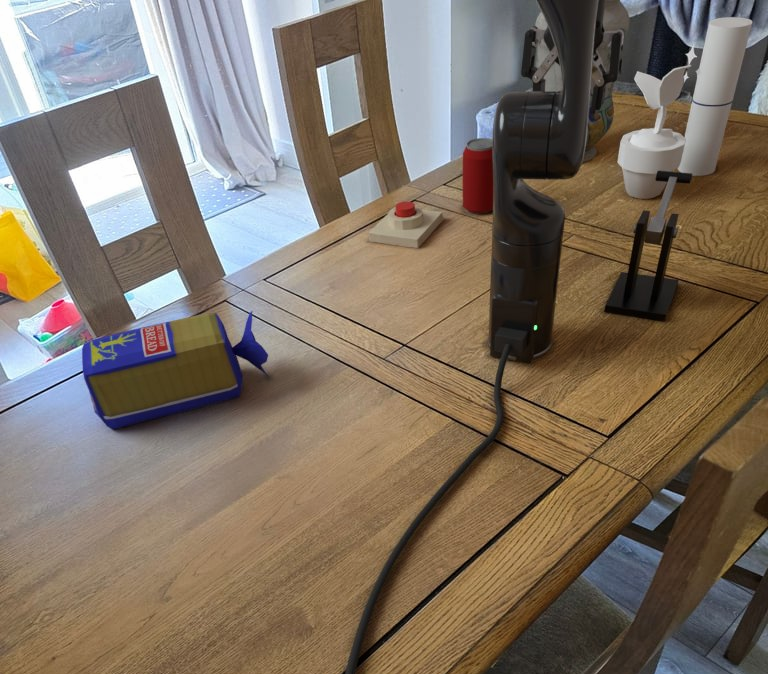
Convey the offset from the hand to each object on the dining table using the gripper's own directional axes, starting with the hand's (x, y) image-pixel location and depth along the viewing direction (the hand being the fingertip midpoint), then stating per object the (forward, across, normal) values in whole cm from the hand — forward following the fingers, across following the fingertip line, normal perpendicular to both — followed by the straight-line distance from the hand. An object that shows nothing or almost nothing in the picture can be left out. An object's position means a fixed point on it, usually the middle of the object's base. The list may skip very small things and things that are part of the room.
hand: (566, 110), depth 106 cm
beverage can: (+23, -19, +14) cm, 33 cm away
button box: (+23, -29, 0) cm, 37 cm away
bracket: (+23, +18, -11) cm, 31 cm away
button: (+20, -29, 0) cm, 35 cm away
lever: (+11, +18, -5) cm, 21 cm away
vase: (+23, -11, +45) cm, 52 cm away
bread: (+23, -36, -58) cm, 72 cm away
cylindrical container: (+23, +16, +43) cm, 52 cm away
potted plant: (+23, +9, +29) cm, 38 cm away
